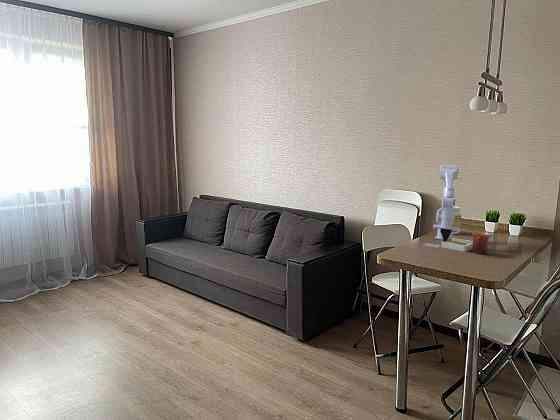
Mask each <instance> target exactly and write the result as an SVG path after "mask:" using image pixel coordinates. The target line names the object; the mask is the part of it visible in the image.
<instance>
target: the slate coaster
mask: <svg viewBox="0 0 560 420" xmlns="http://www.w3.org/2000/svg"><path fill="white" fill-rule="evenodd" d="M422 246H423V247H428V248H433V249H439V248H441V244H437V243H428V242H426V243H425V244H423V245H422Z"/></svg>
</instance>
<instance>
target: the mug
mask: <svg viewBox="0 0 560 420" xmlns="http://www.w3.org/2000/svg"><path fill="white" fill-rule="evenodd" d="M471 234H472V241H473V243H472V249H471V251H472V253H474V254H477V255H486V254H487V253H488V248H489V239H490V237H491V233H488V232H481V231H473V232H472V233H471Z"/></svg>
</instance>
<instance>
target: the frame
mask: <svg viewBox="0 0 560 420" xmlns="http://www.w3.org/2000/svg"><path fill="white" fill-rule="evenodd" d="M451 241H457V242H461V243H466V244H467V245H465V246H464V245H458V244H452V243H447V242H443V241H441V242H440V243H441V244H440V245H441V246H440V248H441V249H442V248H443V249H448V250H449V249H450V250H453V251H459V252H465V253H467V252H468V251H470V250H472V243H473V240H469V239H462V238H455V237H453V238H452V239H451Z"/></svg>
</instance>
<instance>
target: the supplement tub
mask: <svg viewBox="0 0 560 420" xmlns="http://www.w3.org/2000/svg"><path fill="white" fill-rule="evenodd" d="M453 208H454V210H453V211H454V223H453V224H452V227H457V228H460V229H461V223H462V212H461V206H456V205H455V207H454V205H453ZM440 213H442V212H440ZM459 233H460V232H457V231H452V235H458V234H459Z"/></svg>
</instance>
